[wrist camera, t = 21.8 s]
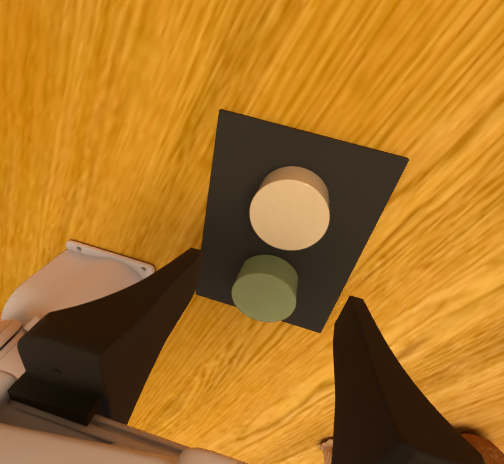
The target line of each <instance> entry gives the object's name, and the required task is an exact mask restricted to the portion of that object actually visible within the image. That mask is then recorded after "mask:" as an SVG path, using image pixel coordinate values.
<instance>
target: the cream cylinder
mask: <svg viewBox="0 0 504 464" xmlns="http://www.w3.org/2000/svg"><path fill="white" fill-rule="evenodd" d="M329 220H330V198H329V193H328V189H327V187H326V185H325V184H324V182H323V181H322V180H321V178H320V177H319V176H317V175H316V174H315V173H313V172H312V171H310V170H308V169H305V168H302V167H295V166H289V167H282V168H279V169H277V170H275V171H273V172H271V173H270V174H268V175H267V176H266V177H265V178H264V179H263V181H262V182H261V184H260V186H259V188H258V190H257V192H256V194H255V196H254V198H253V200H252V202H251V205H250V221H251V224H252V226H253V229H254V230H255V232H256V233H257V235H258V236H259V237H260V238H261V239H262V240H263V241H265V242H266V243H268V244H269V245H271V246H273V247H276V248H279V249H283V250H300V249H304V248H307V247H309V246H311V245H313V244H315V243H316V242H317V241H319V240H320V239H321V238H322V236H323V235H324V234H325V232H326V230H327V228H328V225H329Z"/></svg>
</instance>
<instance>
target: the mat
mask: <svg viewBox="0 0 504 464" xmlns="http://www.w3.org/2000/svg"><path fill="white" fill-rule="evenodd" d="M408 161H409V159H408V158H406V157H402V156H398V155H395V154H391V153H387V152H383V151H379V150H375V149H372V148H368V147H364V146H360V145H356V144H353V143H349V142H345V141H341V140H337V139H333V138H330V137H326V136H322V135H318V134H314V133H311V132H307V131H303V130H299V129H295V128H292V127H288V126H284V125H280V124H276V123H272V122H269V121H265V120H261V119H257V118H253V117H250V116H246V115H242V114H238V113H234V112H230V111H227V110H223V109H220V110H219V116H218V124H217V132H216V140H215V147H214V155H213V163H212V170H211V178H210V186H209V194H208V201H207V209H206V217H205V224H204V232H203V240H202V248H201V251H203V257H202V264H201V272H200V279H199V283H198V286H197V288H196V294H197V295H200V296H203V297H206V298H209V299H213V300H216V301H219V302H222V303H225V304H229V305H232V306H235V307H236V305H235V303H234V301H233V299H232V288H233V285H234V282H235V280H236V277H237V275H238V272H239V270H240V268H241V266H242V264H243V263H244V262H245V261H246V260H247V259H249V258H251V257H253V256H257V255H273V256H276V257H279V258H281V259H283V260H285V261H287V262H288V263H289V264H290V265H291V266H292V267H293V268H294V269H295V271H296V273H297V275H298V279H299V285H298V293H297V300H296V307H295V309H294V311H293V313H292V314H291V315H290V316H289V317H287V318H286V319H284V320H281V321H283V322H286V323H289V324H293V325H296V326H299V327H302V328H305V329H309V330H312V331H315V332H318V333H321V331H322V329H323V327H324V325H325V323H326V321H327V319H328V317H329V316H330V314H331V312H332V310H333V308H334V306H335V304H336V302H337V300H338V298H339V296H340V294H341V292H342V290H343V288H344V286H345V284H346V282H347V280H348V278H349V276H350V274H351V273H352V271H353V269H354V267H355V265H356V263H357V261H358V259H359V257H360V255H361V253H362V251H363V249H364V247H365V245H366V243H367V241H368V239H369V237H370V235H371V233H372V231H373V230H374V228H375V226H376V224H377V222H378V220H379V218H380V216H381V214H382V212H383V210H384V208H385V206H386V204H387V202H388V200H389V198H390V196H391V194H392V192H393V190H394V188H395V187H396V185H397V183H398V181H399V179H400V177H401V175H402V173H403V171H404V169H405V167H406V165H407V163H408ZM289 166H295V167H302V168H305V169H308V170H310V171H312V172H313V173H315V174H316V175H317V176H319V177H320V178H321V180H322V181H323V182H324V184H325V185H326V187H327V189H328V193H329V198H330V220H329V225H328V228H327V230H326V232H325V234H324V235H323V236H322V238H321V239H320V240H319V241H317V242H316V243H315V244H313V245H311V246H309V247H307V248H304V249H300V250H283V249H279V248H276V247H273V246H271V245H269V244H268V243H266V242H265V241H263V240H262V239H261V238H260V237H259V236H258V235H257V233H256V232H255V230H254V229H253V226H252V224H251V221H250V205H251V202H252V200H253V198H254V196H255V194H256V192H257V190H258V188H259V186H260V184H261V182H262V181H263V179H264V178H265V177H266V176H267V175H268V174H270V173H271V172H273V171H275V170H277V169H279V168H282V167H289Z"/></svg>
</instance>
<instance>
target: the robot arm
mask: <svg viewBox="0 0 504 464" xmlns="http://www.w3.org/2000/svg"><path fill="white" fill-rule="evenodd" d="M66 248H67V249H66V250H65V251H64V252H62V253H61V254H60V255H58V256H57V257H56V258H55V259H53V260H52V261H51V262H49V263H48V264H47V265H45V266H44V267H43V268H42V269H40V270H39V271H38V272H36V273H35V274H34V275H32V276H31V277H30V278H29V279H27V280H26V281H25V282H23V283H22V284H21V285H20V286H19V287H18V288H17V289H16V290H15V291H14V292H13V293H12V295H11V296H10V298H9V299H8V301H7V302H6V304H5V306H4V308H3V311H2V315H1V321H0V464H248V463H245V462H242V461H239V460H236V459H233V458H231V457H228V456H225V455H222V454H219V453H216V452H214V451H211V450H207V449H202V448H198V447H197V448H190V447H187V446H184V445H181V444H179V443H176V442H173V441H170V440H167V439H164V438H162V437H159V436H156V435H153V434H150V433H147V432H145V431H142V430H139V429H136V428H133V427H130V426H128V425H127V424H128V421H129V419H130V417H131V414H132V412H133V410H134V407H135V405H136V403H137V401H138V398H139V396H140V394H141V392H142V390H143V387H144V385H145V383H146V381H147V379H148V376H149V374H150V372H151V370H152V368H153V366H154V364H155V362H156V360H157V358H158V355H159V353H160V351H161V349H162V347H163V345H164V343H165V342H166V340H167V338H168V336H169V335H170V333H171V331H172V330H173V328H174V327H175V325H176V323H177V322H178V320H179V319H180V317H181V315H182V314H183V312H184V310H185V309H186V307H187V306H188V304H189V302H190V301H191V299H192V297H193V294H194V292H195V290H196V288H197V286H198V283H199V279H200V272H201V264H202V257H203V251H201V250H197V249H194V248H190V249H188V250H187V251H185V252H184V253H183V254H181V255H180V256H179V257H177V258H176V259H174V260H173V261H172V262H170V263H169V264H167V265H166V266H164V267H162V268H161V269H159V270H158V271H156V272H155V269H154V267H153V266H152V265H150V264H147V263H144V262H141V261H138V260H134V259H131V258H128V257H125V256H121V255H118V254H115V253H112V252H108V251H105V250H102V249H99V248H95V247H92V246H89V245H86V244H82V243H79V242H76V241H73V240H69V241H67V242H66ZM144 267H145V268H144ZM333 357H334V377H335V417H334V433H333V446H332V457H331V464H486V463H485V461H484V459H483V456H482V454H481V453H480V452H479V451H478V450H477V449H475V448H474V447H473V446H472V445H471V444H470V443H469V442H468V441H467V440H466V439H465V438H464V437H463V436H462V435H461V434H460V433H459V432H458V431H456V430H455V429H454V428H453V426H452V425H451V424H450V423H449V422H448V421H447V420H446V419H445V418H444V417H443V416H442V415H441V414H440V413H439V412H438V411H437V410H436V408H435V407H434V406H433V405H432V404H431V403H430V402H429V400H428V399H427V398H426V397H425V396H424V395H423V393H422V392H421V391H420V390H419V389H418V387H417V386H416V385H415V384H414V382H413V381H412V380H411V378H410V377H409V376H408V374H407V373H406V372H405V370H404V369H403V367H402V366H401V365H400V363H399V362H398V360H397V359H396V357H395V356H394V354H393V352H392V351H391V349H390V348H389V346H388V344H387V343H386V341H385V339H384V338H383V336H382V334H381V332H380V331H379V329H378V327H377V325H376V323H375V321H374V319H373V317H372V316H371V314H370V312H369V310H368V308H367V306H366V304H365V302H364V300H363V299H360V298H357V297H354V296H349V298H348V300H347V302H346V304H345V306H344V307H343V309H342V311H341V313H340V315H339V317H338V319H337V320H336V322H335V326H334V337H333Z"/></svg>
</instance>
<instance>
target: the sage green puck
mask: <svg viewBox="0 0 504 464" xmlns="http://www.w3.org/2000/svg"><path fill="white" fill-rule="evenodd" d="M298 285H299V279H298V275H297V273H296V271H295V269H294V268H293V267H292V266H291V265H290V264H289V263H288V262H287V261H285V260H283V259H281V258H279V257H276V256H273V255H257V256H253V257H251V258H249V259H247V260H246V261H245V262H244V263H243V264H242V266H241V268H240V270H239V272H238V275H237V277H236V280H235V282H234V285H233V288H232V299H233V301H234V303H235V305H236V307H237V308H238V309H239V310H240V311H241V312H242V313H243V314H245V315H246V316H248V317H250V318H252V319H254V320H257V321H262V322H277V321H281V320H284V319H286V318H287V317H289V316H290V315H291V314H292V313H293V311H294V309H295V307H296V300H297V293H298Z"/></svg>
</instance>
